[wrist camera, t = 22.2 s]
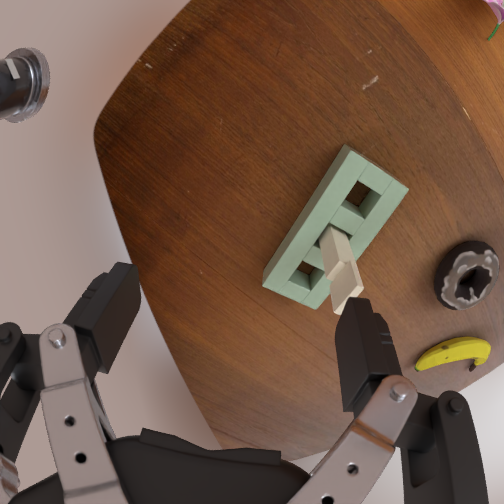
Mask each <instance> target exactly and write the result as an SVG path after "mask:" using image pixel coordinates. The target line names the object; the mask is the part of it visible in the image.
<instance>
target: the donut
mask: <svg viewBox="0 0 504 504" xmlns="http://www.w3.org/2000/svg"><path fill="white" fill-rule="evenodd" d="M473 269H476V272H475V274H474V276H473V277H472V278H471V279H470V280H469V281H468V282H466V283H464V284H459V283H460V281H461V279H462V277H463V276H464V275H465V274H466V273H468V272H469V271H471V270H473ZM498 274H499V261H498V256H497V255H496V253H495V251H494V250H493V248H492V247H490V246H489V245H488V244H486V243H485V242H480V241H470V242H465V243H463V244H461V245H459V246H457V247H456V248H454V249H453V250H452V251H450V252H449V253H448V255H447V256H446V257H445V258H444V259H443V260H442V262H441V264H440V265H439V267H438V269H437V272H436V275H435V280H434V290H435V293H436V296H437V299H438V300H439V301H440V302H441V303H442V305H443V306H445V307H447V308H449V309H452V310H464V309H469V308H471V307H473V306H475V305H477V304H478V303H480V302H481V301H482V300H484V299H485V298H486V297H487V295H488V294H489V293H490V292H491V290H492V289H493V287H494V286H495V283H496V281H497V278H498Z"/></svg>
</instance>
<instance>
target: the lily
mask: <svg viewBox="0 0 504 504" xmlns="http://www.w3.org/2000/svg"><path fill="white" fill-rule="evenodd" d="M484 1H485V0H484ZM485 2H487V4H488V5H489V6H490V7H491V9H492V10H493V12H494V14H495V15H496V17H497V19H498V23H497V26H496V27H495V29H494V31H493V32H492V34H491V35H490V36H489V38H488V40H490V39H491V38H492V36H493V35H494V34H495V32H496V31H497V29H498V27H499V25H500V24H501V22H503V21H504V0H486V1H485Z"/></svg>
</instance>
